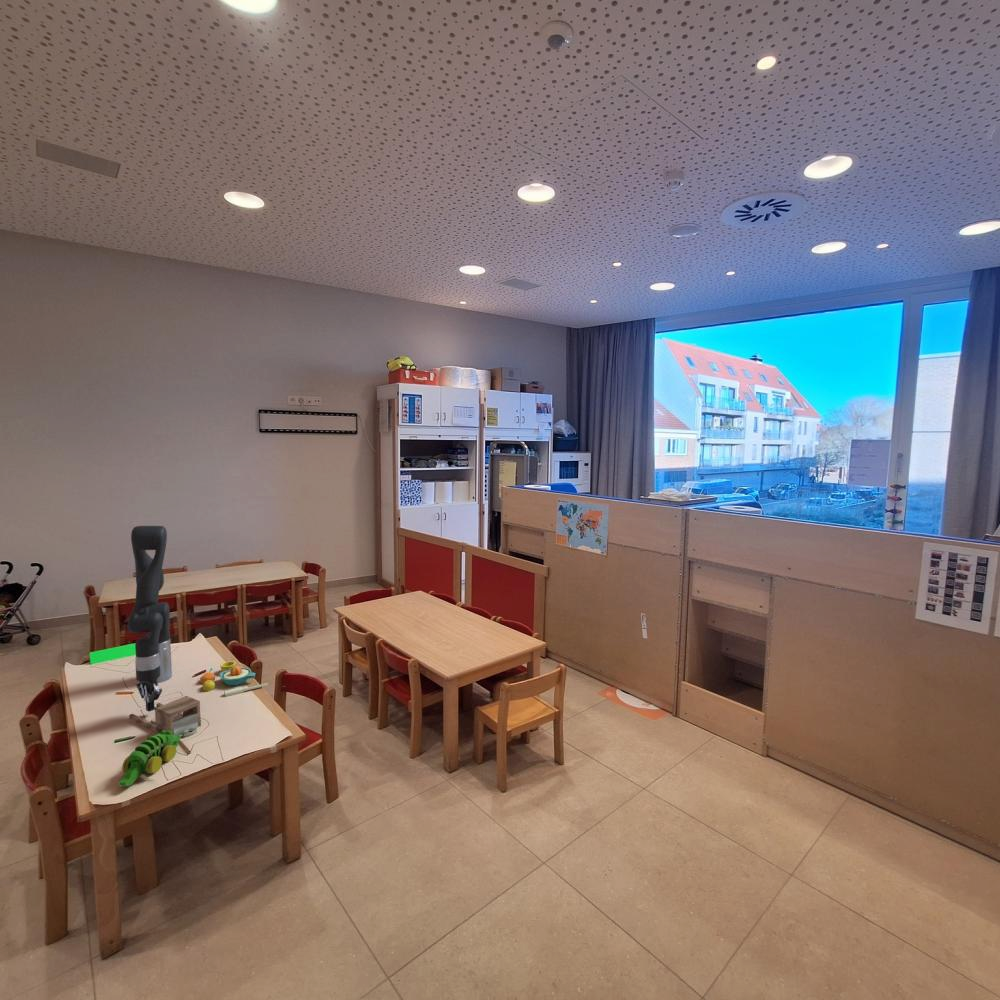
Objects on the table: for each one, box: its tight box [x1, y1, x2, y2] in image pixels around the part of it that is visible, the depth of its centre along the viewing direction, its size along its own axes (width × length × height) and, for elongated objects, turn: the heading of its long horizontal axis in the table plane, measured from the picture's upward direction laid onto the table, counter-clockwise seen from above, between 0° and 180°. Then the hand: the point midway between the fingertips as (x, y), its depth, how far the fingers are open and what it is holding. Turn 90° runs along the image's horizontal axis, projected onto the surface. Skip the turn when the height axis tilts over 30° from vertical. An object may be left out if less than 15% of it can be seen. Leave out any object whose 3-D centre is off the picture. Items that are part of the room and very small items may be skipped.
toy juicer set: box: [199, 660, 269, 698], centre depth 219 cm, size 29×18×8 cm, turn 57°
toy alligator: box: [118, 728, 198, 787], centre depth 169 cm, size 10×32×9 cm, turn 175°
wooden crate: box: [128, 695, 202, 736], centre depth 190 cm, size 26×10×9 cm, turn 62°
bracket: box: [89, 642, 136, 665], centre depth 243 cm, size 20×10×7 cm, turn 132°
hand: (150, 710), depth 194 cm, fingers closed
